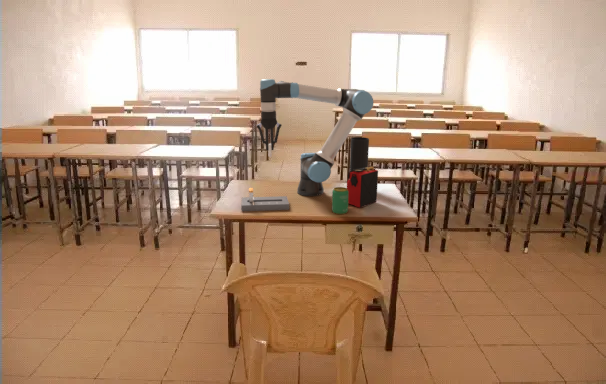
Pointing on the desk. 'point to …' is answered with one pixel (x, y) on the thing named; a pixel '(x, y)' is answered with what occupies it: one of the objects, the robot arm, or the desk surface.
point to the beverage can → (340, 200)
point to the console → (265, 203)
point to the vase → (359, 153)
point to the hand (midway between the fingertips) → (270, 156)
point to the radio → (362, 186)
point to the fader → (250, 194)
